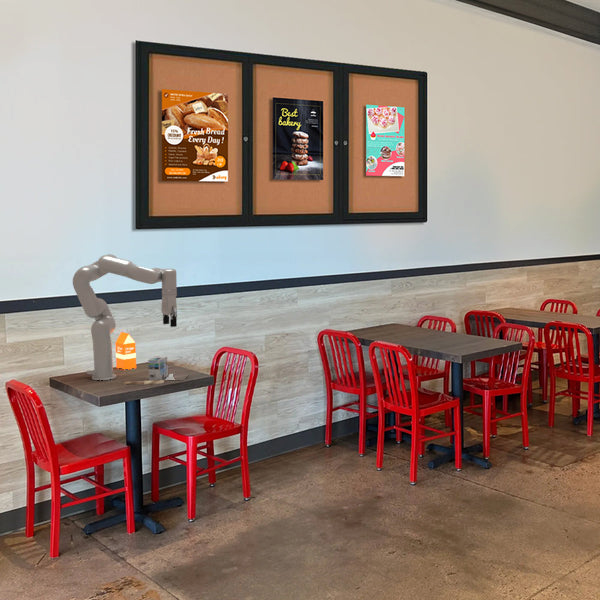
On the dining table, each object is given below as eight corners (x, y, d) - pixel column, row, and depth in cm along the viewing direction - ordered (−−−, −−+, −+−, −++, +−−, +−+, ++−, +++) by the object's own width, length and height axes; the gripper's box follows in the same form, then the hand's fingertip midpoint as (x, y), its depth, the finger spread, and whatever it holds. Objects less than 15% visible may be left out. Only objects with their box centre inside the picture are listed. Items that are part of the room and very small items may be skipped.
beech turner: (123, 385, 381) (123, 383, 381) (123, 382, 387) (123, 381, 387) (163, 383, 386) (163, 381, 385) (163, 380, 391) (163, 379, 391)
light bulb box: (160, 380, 391) (159, 360, 390) (148, 380, 393) (147, 359, 391) (168, 376, 402) (167, 356, 400) (156, 375, 403) (155, 355, 402)
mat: (164, 380, 391) (164, 379, 391) (170, 374, 405) (170, 373, 405) (184, 380, 391) (184, 379, 391) (189, 374, 405) (189, 373, 404)
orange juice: (124, 370, 417) (122, 334, 415) (116, 367, 424) (114, 332, 421) (136, 368, 423) (135, 332, 420) (128, 365, 429) (127, 330, 426)
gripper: (156, 291, 396) (156, 323, 399) (169, 294, 382) (169, 328, 384) (169, 290, 400) (170, 322, 403) (182, 294, 386) (183, 327, 388)
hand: (169, 325), depth 393 cm, fingers open, 9 cm apart
